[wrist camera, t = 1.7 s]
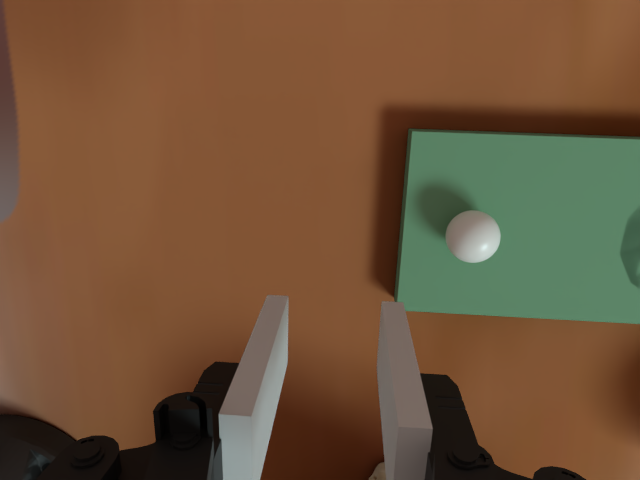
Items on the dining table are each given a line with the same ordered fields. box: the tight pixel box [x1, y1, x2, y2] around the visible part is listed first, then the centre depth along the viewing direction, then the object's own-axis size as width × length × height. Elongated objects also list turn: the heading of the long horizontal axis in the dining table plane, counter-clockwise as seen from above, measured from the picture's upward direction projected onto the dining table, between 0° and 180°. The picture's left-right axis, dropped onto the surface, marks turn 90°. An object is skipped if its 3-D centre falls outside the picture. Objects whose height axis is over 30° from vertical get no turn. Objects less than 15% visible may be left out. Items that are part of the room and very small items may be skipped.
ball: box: [445, 210, 501, 263], centre depth 29 cm, size 3×3×3 cm
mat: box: [394, 129, 640, 324], centre depth 31 cm, size 24×12×2 cm, turn 88°
